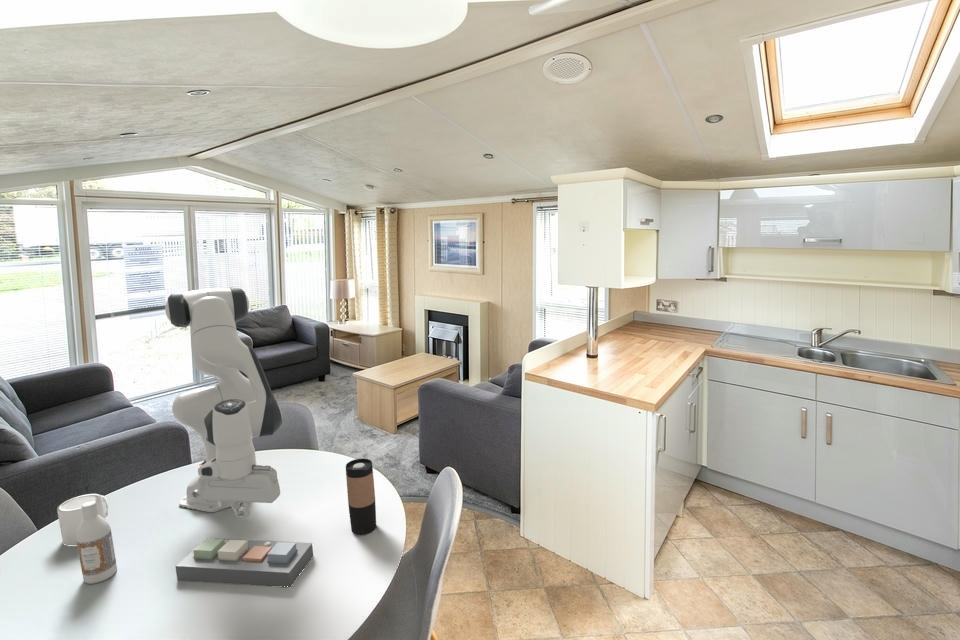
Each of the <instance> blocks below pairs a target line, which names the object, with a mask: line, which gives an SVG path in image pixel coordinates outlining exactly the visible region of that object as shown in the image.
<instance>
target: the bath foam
mask: <svg viewBox="0 0 960 640" xmlns="http://www.w3.org/2000/svg"><path fill="white" fill-rule="evenodd" d="M82 513H83V518H84V519H83V521H82V523H81V524H80V526H79V528H78V531H77V535H76V541H77V546H76V547H77V551H78V557H79V562H80V569H81V572H82V578H83V582H84V583H85V584H90V585H91V584H97V583H101V582H103V581H106V580H108V579H110V577H112V576H114V574H116V572H117V570H118V566H117V560H116V559H117V558H116V553H115V546H114V540H113V534H112V533H113V532H112V528H111V526H110V524H109V522H108V521H107V520H106V518H105V519H104V518H103V517H101V516H100V515H98V511H97V505H96V501H89V502H86V503H84V504H83V505H82Z"/></svg>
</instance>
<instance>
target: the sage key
mask: <svg viewBox="0 0 960 640" xmlns="http://www.w3.org/2000/svg"><path fill="white" fill-rule="evenodd" d="M208 538H209V537H207V538H205V539H204V540H202V542H201V543H199V544H198V545H197V546H195V548H194V549H193V550H192V551H193V552H194V559H211V560H212V559H213V558H215V557H216V556H217V555H218V550H219V549H220V548H221V547H223V546H224V539H225V538H221V539H208Z"/></svg>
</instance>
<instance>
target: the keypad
mask: <svg viewBox="0 0 960 640" xmlns="http://www.w3.org/2000/svg"><path fill="white" fill-rule="evenodd" d="M207 538H208V539H222V538H217V537H215V538H214V537H207ZM223 539H224V545H225V544H226V543H227V542H228V541H229V540H242V539H239V538H237V539H236V538H223ZM246 540H247V541H248V550H247V551H246V552H245V553H244V554H243V555H242V556H241V557H240V558H239V559H238V560H237V561H229V560H219V559H218V555H217V556H216V557H215V558H213V559H212V560H211V559H194V552H193V550H192V551H191V552H189V554H187V555H186V556H184V558H183V559H182V560H181V561H179V562H178V563H177V564H176V565H175V573H176V579H177V581H178V582H180V581H181V582H182V581H183V582H196V583H197V582H198V583H210V584H226V585H227V584H228V585H229V584H230V585H241V586H243V585H244V586H256V587H257V586H259V587H272V586H282V587H281V588H287V586H288V587H291V588H292V586H293V585H294V584H295V582H296V581H297V580H296V578H297V577H298V576H299V574H300V573H301V572H302V570H303V569H304V568H305V569H306V567H307V566H308V565H307V564H309V563H310V562H311V561H312V559H313V558H314V550H313V542H300V541H299V542H297V541H287V542H288V543H296V548H297V552H296V554H295V555H294V556H293V557H292V559H291V560H290V561H289V562H288V564H282V563H268V556H267V557H266V558H265V559H264V561H263V562H246V561H243V557H244V556H245V555H246V554H247V553H248V552H249V551H250V550H251V549H252V548H253V547H254V546H267V547H272V548H273V547H274V546H275V545H276V544H277V542H282V541H280V540H278V541H275V540H257V539H246ZM312 557H313V558H312ZM311 558H312V559H311ZM310 560H311V561H310ZM309 561H310V562H309ZM308 562H309V563H308ZM306 565H307V566H306ZM305 566H306V567H305ZM305 569H304V570H305ZM304 570H303V571H304ZM302 573H303V572H302ZM302 573H301V574H302ZM301 574H300V575H301ZM299 577H300V576H299ZM299 577H298V578H299ZM298 578H297V579H298ZM295 580H296V581H295ZM294 581H295V582H294ZM293 583H294V584H293ZM292 584H293V585H292ZM291 585H292V586H291ZM284 586H285V587H284Z"/></svg>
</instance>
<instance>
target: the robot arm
mask: <svg viewBox="0 0 960 640" xmlns="http://www.w3.org/2000/svg"><path fill="white" fill-rule="evenodd" d="M164 309H165V311H164V312H165V314H166V315H165V316H166V318H167V319H168V320H169V322H170V324H171V325H173V326H175V327H177V328H187V327H190V339H191V340H190V341H191V342H190V343H191V349H192V356H193V357H192V358H193V366H194V368H195V370H196V371H197V372H198V373H200V374H202V375H205V376H208V377H213V378H216V379H217V383H215V384H213V385H208V386H203V387H198V388H192V389H191V390H187V391H185V392H183V393H180V394H177V396H175V398H174V400H173V402H172V405H171V406H172V407H171V408H172V412H171V413H172V415H173V417H174V419H176V421H177V422H179V423H180V424H181V425H183V426H186V427H189V428H191V429H192V430H193V431H195V432H196V434H198V436H199V437H200V438H201V441H202V444H203V447H204V452H205V459H204V460H203V462H202V463H200V464H199V467H198V469H197V474H198V475H196V477H194V478H193V479H192V480H191V481H190V482H189V483H188V485H187V487H186V494H185V495H184V496H183V497H182V498H181V499H180V501H179V503H178V507H180V506H182V507H181V508H184V507H187V508H186V509H190V508H192V509H191V510H195V509H196V510H195V511H203V512H207V513H216V512H218V511H222V510H224V509H228V508H232V510H233V511H234V517H242V518H244V517H245V518H247V517H249V515H250V513H251V512H250V508H251V506H252V504H253V503H260V504H261V503H263V504H272V503H274V502H275V501H276V500H277V499H278V498H279V497H280V496H281V486H280V483H279V479H278V473H277V470H276V469H275V468H273V467H272V466H271V465H260V464H257V457H256V449H255V446H254V444H253V438H258V437H259V438H260V437H268V436H269V437H270V436H273V435H274V434H275V433H276V432H278V430H279V429H280V428H281V427H282V424H283V413H282V409H281V406H280V405H279V403H278V402H277V400H276V397H275V396H274V393H273V391H272V388H271V386H270V383H269V381H268V378H267V377H266V374H265V372H264V371H265V370H264V369H263V366H262V364H261V361H260V360H259V358H258V356H257V353H256V352H255V350H254V349H253V347H252V346H249V345H247V344H245V342H243V341H242V340H241V338H240V336H239V334H238V330H237V329H238V328H237V326H236V324H237V323H238V322H241V321H243V320H245V318H246V317H247V316H248V313H249V311H250V300H249V297H248V296H247V294H246V292H245V291H244V290H243V289H242V288H239V287H232V286H231V287H227V288H226V287H225V288H224V287H212V288H211V287H208V288H206V289H205V288H204V289H196V290H190V291H184V292H183V291H177V292H174V293H171V294H170V295H169V296H168V297H167V300H166V303H165V306H164ZM243 373H244V374H245V375H246V376H245V375H244V374H243ZM241 504H242V505H243V506H241Z"/></svg>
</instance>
